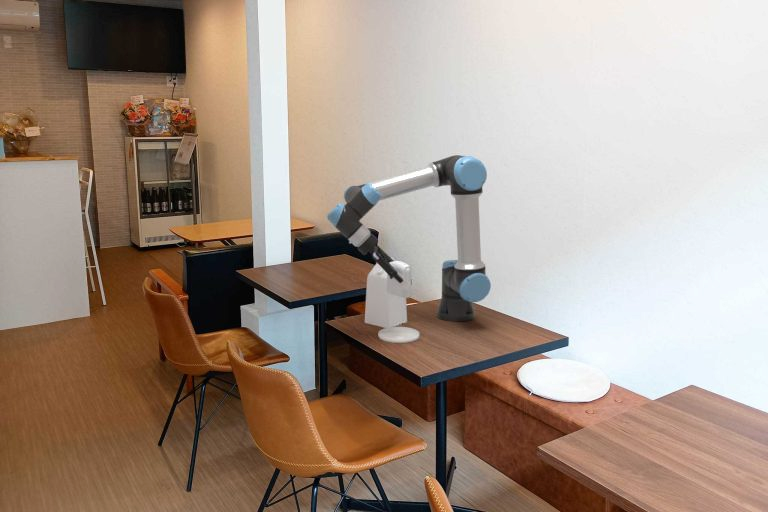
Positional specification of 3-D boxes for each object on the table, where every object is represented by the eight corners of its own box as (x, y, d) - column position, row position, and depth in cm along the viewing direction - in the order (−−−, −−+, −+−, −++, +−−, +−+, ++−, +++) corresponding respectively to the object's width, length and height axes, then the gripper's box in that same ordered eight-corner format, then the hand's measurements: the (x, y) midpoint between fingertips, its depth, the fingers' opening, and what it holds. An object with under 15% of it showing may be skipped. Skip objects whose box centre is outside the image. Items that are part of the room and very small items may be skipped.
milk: (407, 321, 257) (407, 256, 252) (388, 328, 248) (389, 261, 243) (383, 316, 264) (383, 252, 259) (364, 322, 256) (364, 257, 250)
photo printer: (385, 293, 238) (385, 260, 235) (394, 291, 241) (394, 258, 238) (403, 299, 230) (404, 264, 228) (413, 297, 233) (413, 263, 230)
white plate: (418, 330, 247) (418, 327, 247) (420, 343, 232) (420, 340, 232) (378, 329, 247) (378, 326, 247) (377, 342, 232) (377, 339, 232)
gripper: (358, 242, 243) (400, 284, 246) (354, 253, 221) (400, 299, 224) (372, 228, 242) (414, 270, 245) (370, 238, 220) (416, 284, 223)
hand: (408, 284), depth 235 cm, fingers closed on photo printer, 9 cm apart
